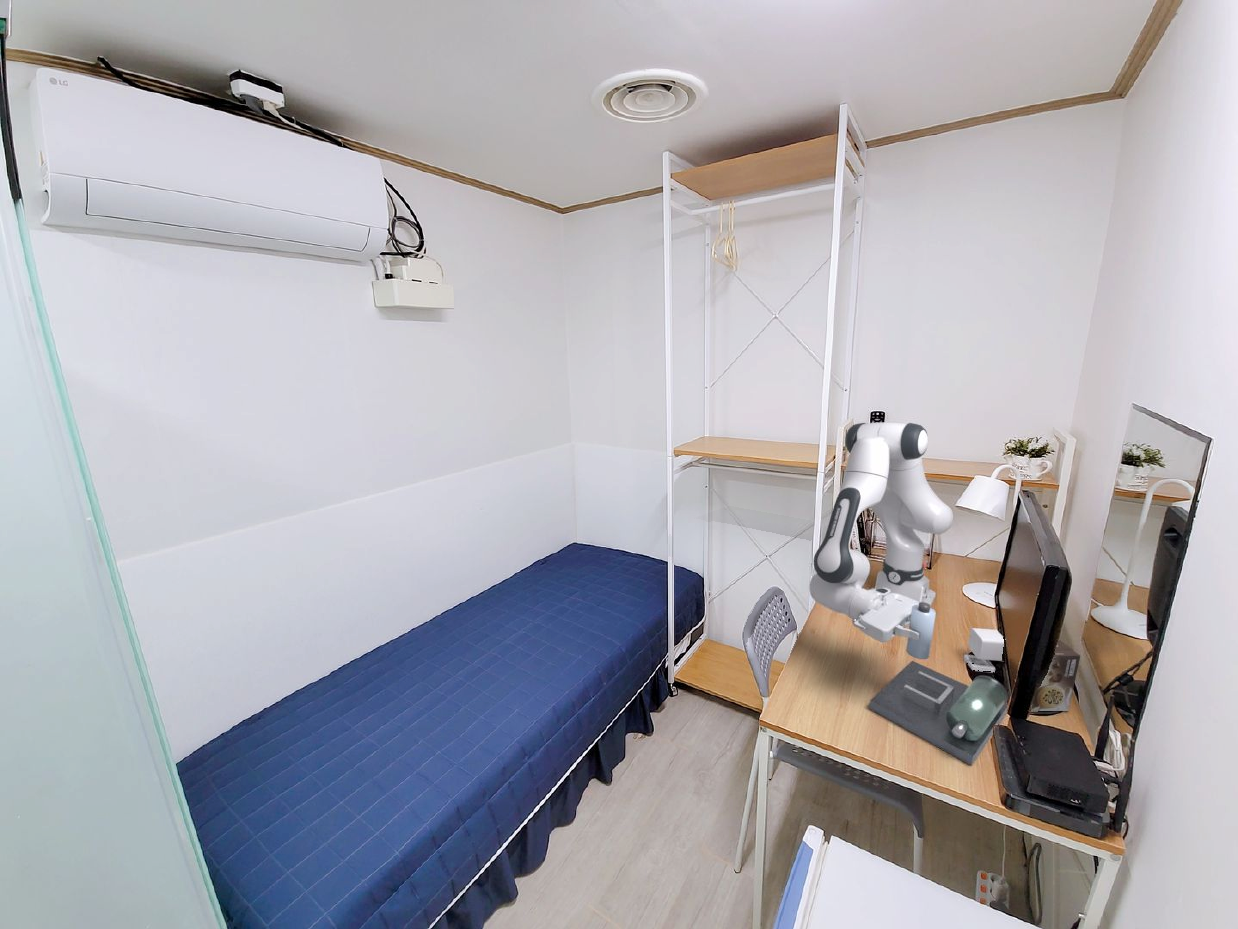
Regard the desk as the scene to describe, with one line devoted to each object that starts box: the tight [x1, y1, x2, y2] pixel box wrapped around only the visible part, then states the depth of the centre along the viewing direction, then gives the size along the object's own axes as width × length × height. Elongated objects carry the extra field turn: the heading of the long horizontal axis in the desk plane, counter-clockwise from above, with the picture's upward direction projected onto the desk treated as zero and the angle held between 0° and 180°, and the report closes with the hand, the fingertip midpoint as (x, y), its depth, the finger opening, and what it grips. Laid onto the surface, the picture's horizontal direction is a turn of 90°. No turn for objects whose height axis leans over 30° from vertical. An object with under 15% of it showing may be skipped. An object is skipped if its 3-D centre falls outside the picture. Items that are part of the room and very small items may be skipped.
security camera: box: [963, 627, 1004, 673], centre depth 137 cm, size 6×7×10 cm
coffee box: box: [1029, 639, 1081, 713], centre depth 122 cm, size 9×6×16 cm
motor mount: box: [868, 660, 1009, 767], centre depth 121 cm, size 24×22×10 cm
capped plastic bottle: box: [905, 602, 937, 660], centre depth 122 cm, size 5×5×14 cm
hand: (924, 631), depth 121 cm, fingers closed on capped plastic bottle, 5 cm apart
